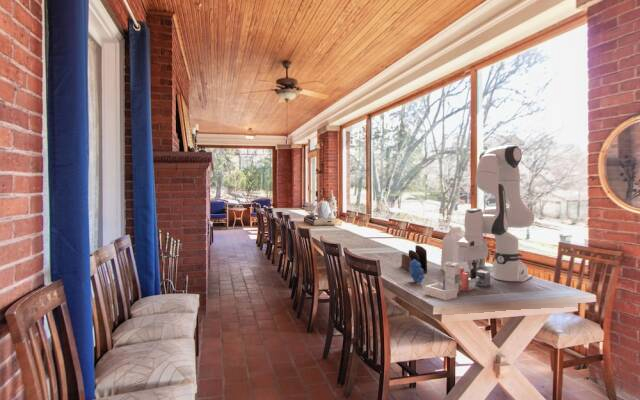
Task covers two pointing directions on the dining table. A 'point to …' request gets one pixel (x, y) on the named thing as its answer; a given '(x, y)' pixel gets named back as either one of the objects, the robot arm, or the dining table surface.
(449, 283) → the syrup box
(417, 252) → the letter holder
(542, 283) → the dining table surface
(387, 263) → the dining table surface
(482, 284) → the grey hollow block
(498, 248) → the robot arm
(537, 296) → the dining table surface
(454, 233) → the milk
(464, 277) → the linear slider rail
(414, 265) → the grapes
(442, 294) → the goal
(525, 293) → the dining table surface
